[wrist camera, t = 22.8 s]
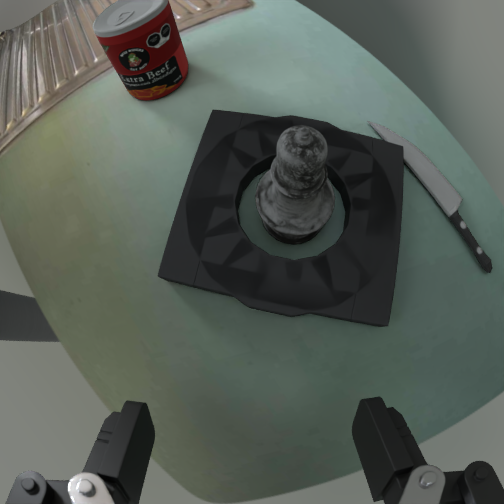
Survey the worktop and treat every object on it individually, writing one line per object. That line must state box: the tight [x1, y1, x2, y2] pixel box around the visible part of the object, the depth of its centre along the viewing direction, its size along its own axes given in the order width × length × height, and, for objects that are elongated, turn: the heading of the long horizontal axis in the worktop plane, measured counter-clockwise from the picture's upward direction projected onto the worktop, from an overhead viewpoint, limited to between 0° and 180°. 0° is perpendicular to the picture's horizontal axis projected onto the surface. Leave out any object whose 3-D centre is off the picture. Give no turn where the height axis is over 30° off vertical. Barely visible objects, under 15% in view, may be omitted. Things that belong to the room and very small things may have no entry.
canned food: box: [93, 0, 188, 100], centre depth 26 cm, size 8×8×11 cm
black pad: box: [158, 110, 404, 327], centre depth 25 cm, size 18×17×2 cm
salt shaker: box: [255, 125, 335, 244], centre depth 20 cm, size 6×6×12 cm
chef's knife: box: [367, 121, 492, 273], centre depth 25 cm, size 19×1×3 cm
